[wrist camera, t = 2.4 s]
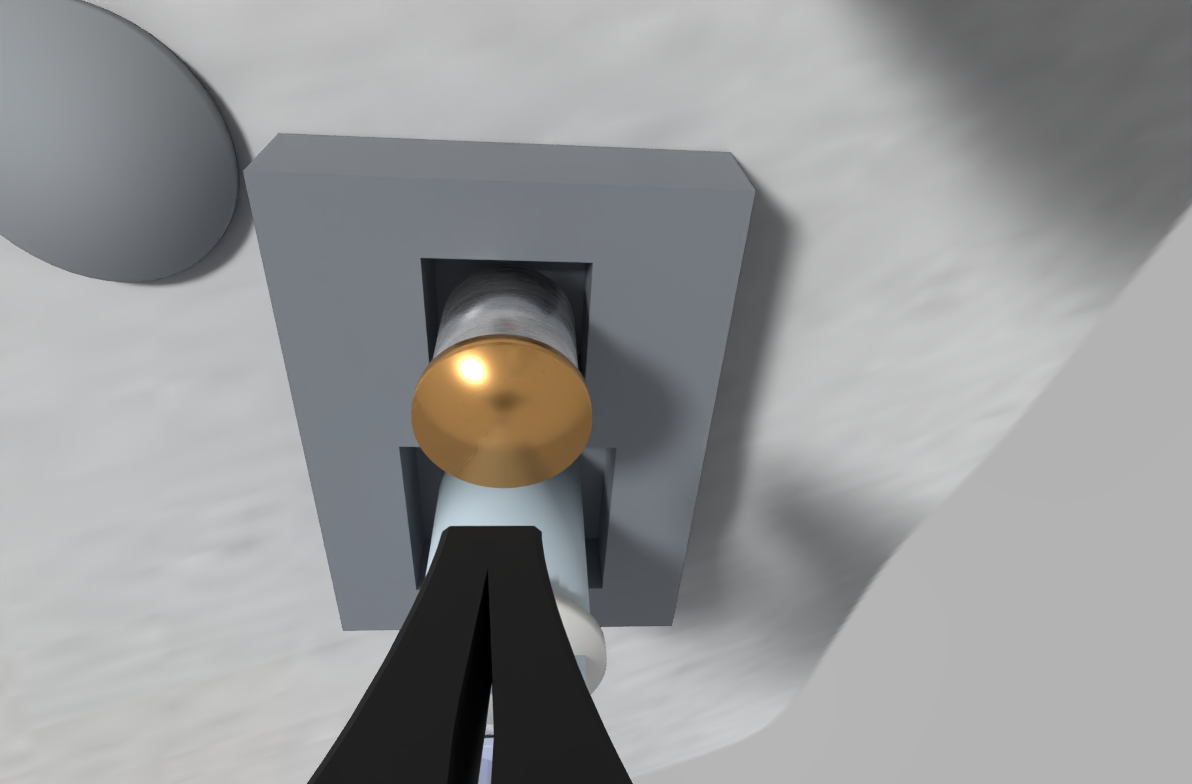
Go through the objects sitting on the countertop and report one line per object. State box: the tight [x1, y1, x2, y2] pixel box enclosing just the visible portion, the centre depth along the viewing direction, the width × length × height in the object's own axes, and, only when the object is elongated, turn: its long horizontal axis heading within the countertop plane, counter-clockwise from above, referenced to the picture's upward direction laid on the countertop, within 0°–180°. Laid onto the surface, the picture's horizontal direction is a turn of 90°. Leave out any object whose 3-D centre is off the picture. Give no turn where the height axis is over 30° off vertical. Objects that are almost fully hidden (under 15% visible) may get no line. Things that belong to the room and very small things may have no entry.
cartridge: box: [426, 458, 606, 724], centre depth 19 cm, size 5×5×7 cm
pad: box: [0, 0, 238, 282], centre depth 16 cm, size 6×6×1 cm
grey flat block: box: [243, 133, 756, 631], centre depth 20 cm, size 14×10×2 cm
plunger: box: [411, 265, 592, 488], centre depth 15 cm, size 3×3×4 cm
